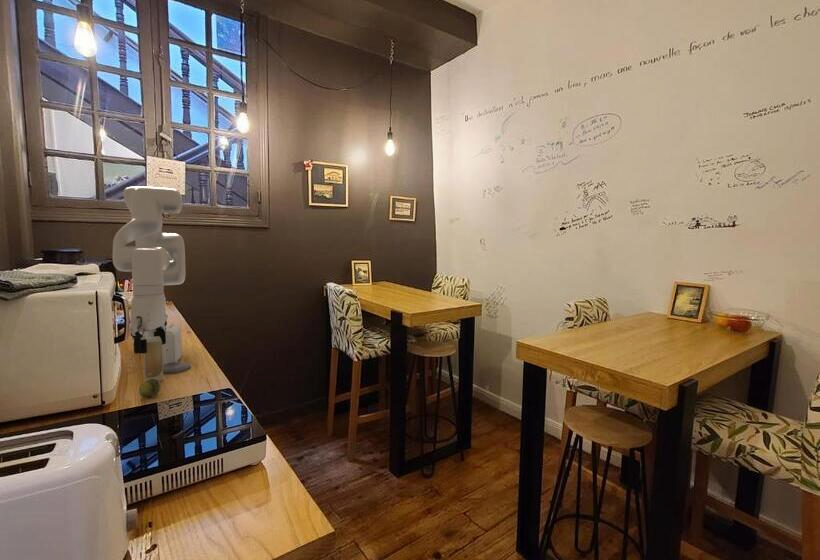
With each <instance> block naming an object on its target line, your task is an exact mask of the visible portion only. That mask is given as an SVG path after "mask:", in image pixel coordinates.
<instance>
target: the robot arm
mask: <svg viewBox="0 0 820 560" xmlns="http://www.w3.org/2000/svg"><path fill="white" fill-rule="evenodd" d="M123 199H124V202H125V205H126V206H127V209H128V211H129V212H130V214H131V215H130V221H128V222H127V223H126V224H124V225H123V226H122V227H120V229H119V230H118V231H117V232H116V233H115V234H114V238H113V240H112V264H113V267H114V268H115V269H116V270H117V271H119V272H131V276H132V277H131V280H132V300H131V303H130V317H129V319H130V324H129V326H128V331H129V333H130V336H131V339H132V342H133V352H134V354H144V353H147V339H145V338H147V337H156V336H160V338H161V340H162V344H166V332H165V331H166V327H167V326H168V315H169V314H167V305H166V296H165V291H164V290H165V288H164V287H165V286H175V285H182V284H184V282H185V280H186V272H187V271H186V247H185V241H184V238H183V236H182V235H180V234H178V233H175V232H174V233H173V232H172V233H171V232H169V233H167V232H163V230H162V228H163V224H164V223H163V214H180V213H181V211H182V209H183V197H182V195H181V192H180V191H179V190H178V189H175V188H170V187H169V188H168V187H159V186H158V187H157V186H156V187H155V186H129V187H126V188H125V189H123ZM132 242H135V246H134V245H132V246H130V245H129V246H127V245H128V244H129V243H132Z"/></svg>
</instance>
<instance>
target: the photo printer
mask: <svg viewBox="0 0 820 560" xmlns="http://www.w3.org/2000/svg"><path fill="white" fill-rule="evenodd" d="M165 332H166V344H162V359H163V365H164V364H168V363H173V362H179V360H180V359H181V358H182V356H183V352H182V351H183V348H182V347H183V346H182V345H183V343H182V328H181V325H178V324H177V323H171V324H169V325H166V331H165Z"/></svg>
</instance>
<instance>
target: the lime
mask: <svg viewBox="0 0 820 560" xmlns="http://www.w3.org/2000/svg"><path fill="white" fill-rule="evenodd" d="M160 391H161V383H160V381H158V380H156V379H150V380H147V381H144V382H143V384H141V385H140V387H139V390H138V395H139V396H140V397H142V398H146V399H151V398H153V397H155V396H157V395H158V394H159V393H160Z"/></svg>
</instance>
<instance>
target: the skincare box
mask: <svg viewBox="0 0 820 560" xmlns="http://www.w3.org/2000/svg"><path fill="white" fill-rule="evenodd" d="M145 339H147V353H143V370H144V371H143V373H144V380H145V381H144V382H146V381H147V380H150V379H156V380H158V381H159V382H161V381H163V380H164V374H163V365H164V364H163V353H162V340H161V338H160V336H156V337H147V338H145Z"/></svg>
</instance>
